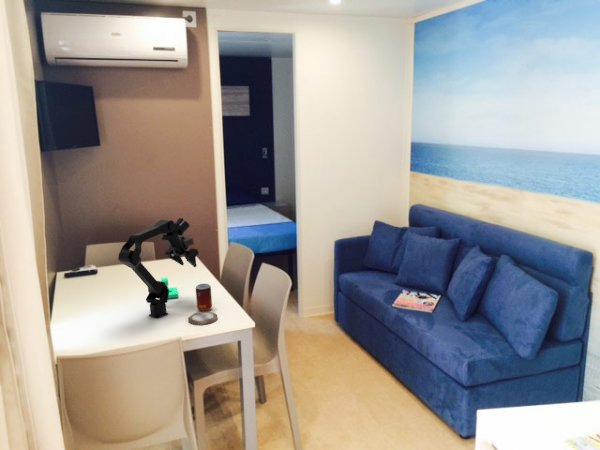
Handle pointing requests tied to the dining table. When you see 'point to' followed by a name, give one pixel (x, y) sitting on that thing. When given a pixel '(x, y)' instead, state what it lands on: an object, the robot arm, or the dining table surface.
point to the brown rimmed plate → (202, 318)
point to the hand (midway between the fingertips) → (189, 265)
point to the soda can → (203, 297)
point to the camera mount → (172, 291)
